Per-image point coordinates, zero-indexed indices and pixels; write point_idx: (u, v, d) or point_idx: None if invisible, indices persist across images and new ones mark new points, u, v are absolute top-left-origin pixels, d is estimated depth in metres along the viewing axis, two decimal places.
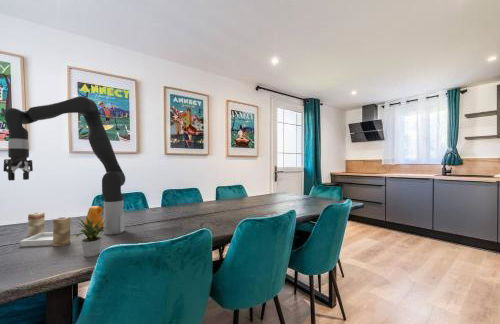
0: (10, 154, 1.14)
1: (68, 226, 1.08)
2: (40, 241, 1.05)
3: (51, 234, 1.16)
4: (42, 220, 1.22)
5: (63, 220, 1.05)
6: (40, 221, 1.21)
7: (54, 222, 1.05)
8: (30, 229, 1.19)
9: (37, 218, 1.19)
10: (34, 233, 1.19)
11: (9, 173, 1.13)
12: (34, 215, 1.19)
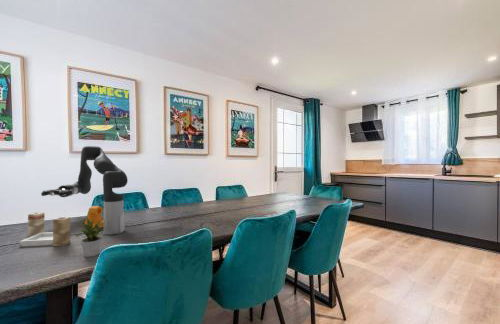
0: None
1: (68, 226, 1.08)
2: (40, 241, 1.05)
3: (51, 234, 1.16)
4: (42, 220, 1.22)
5: (63, 220, 1.05)
6: (40, 221, 1.21)
7: (54, 222, 1.05)
8: (30, 229, 1.19)
9: (37, 218, 1.19)
10: (34, 233, 1.19)
11: None
12: (34, 215, 1.19)
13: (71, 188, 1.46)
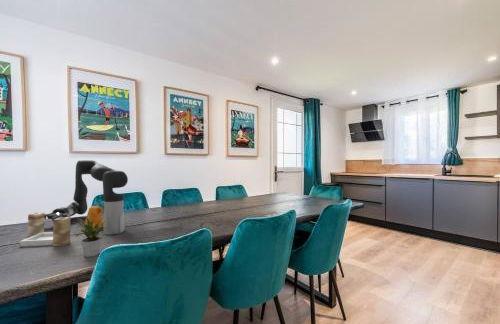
0: None
1: (68, 226, 1.08)
2: (40, 241, 1.05)
3: (51, 234, 1.16)
4: (42, 220, 1.22)
5: (63, 220, 1.05)
6: (40, 221, 1.21)
7: (54, 222, 1.05)
8: (30, 229, 1.19)
9: (37, 218, 1.19)
10: (34, 233, 1.19)
11: None
12: (34, 215, 1.19)
13: (66, 211, 1.41)
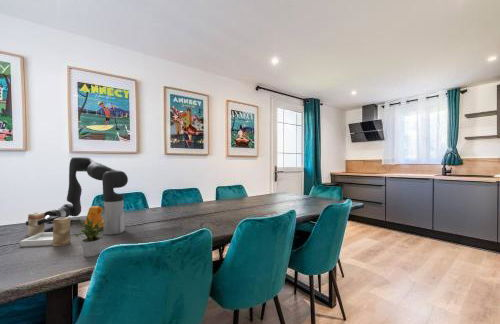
0: None
1: (68, 226, 1.08)
2: (40, 241, 1.05)
3: (51, 234, 1.16)
4: None
5: (63, 220, 1.05)
6: None
7: (54, 222, 1.05)
8: (30, 229, 1.19)
9: (37, 218, 1.19)
10: (34, 233, 1.19)
11: None
12: (34, 215, 1.19)
13: (58, 213, 1.33)
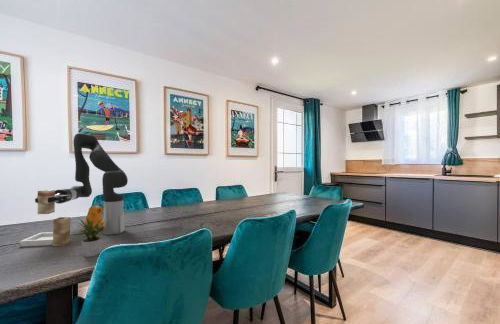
0: None
1: (68, 226, 1.08)
2: (40, 241, 1.05)
3: (51, 234, 1.16)
4: None
5: (63, 220, 1.05)
6: None
7: (54, 222, 1.05)
8: (40, 207, 1.09)
9: (48, 195, 1.10)
10: (44, 211, 1.09)
11: None
12: (44, 192, 1.09)
13: (68, 193, 1.24)
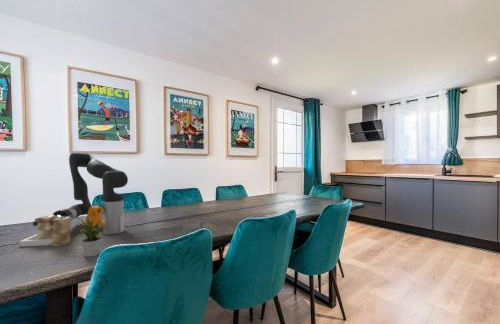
0: None
1: (68, 226, 1.08)
2: (40, 241, 1.05)
3: None
4: None
5: (63, 220, 1.05)
6: (50, 225, 1.11)
7: (54, 222, 1.05)
8: (40, 233, 1.09)
9: (48, 221, 1.09)
10: (44, 238, 1.09)
11: None
12: (44, 218, 1.09)
13: (69, 213, 1.23)
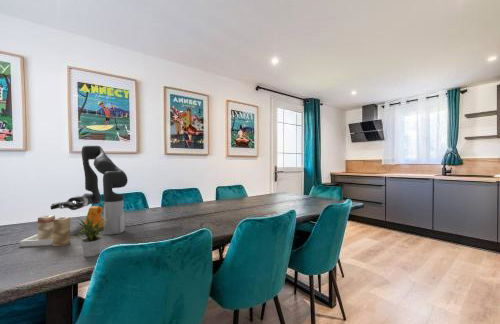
0: None
1: (68, 226, 1.08)
2: (40, 241, 1.05)
3: None
4: None
5: (63, 220, 1.05)
6: (50, 225, 1.11)
7: (54, 222, 1.05)
8: (40, 233, 1.09)
9: (48, 221, 1.09)
10: (44, 238, 1.09)
11: None
12: (44, 218, 1.09)
13: (81, 200, 1.37)
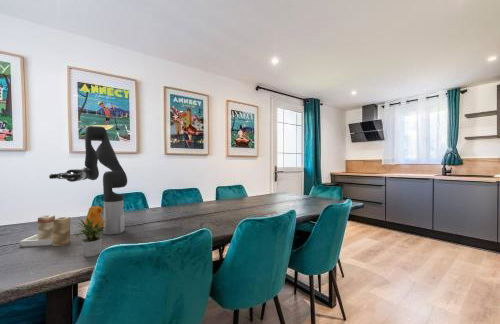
0: None
1: (68, 226, 1.08)
2: (40, 241, 1.05)
3: None
4: None
5: (63, 220, 1.05)
6: (50, 225, 1.11)
7: (54, 222, 1.05)
8: (40, 233, 1.09)
9: (48, 221, 1.09)
10: (44, 238, 1.09)
11: None
12: (44, 218, 1.09)
13: (79, 172, 1.41)
